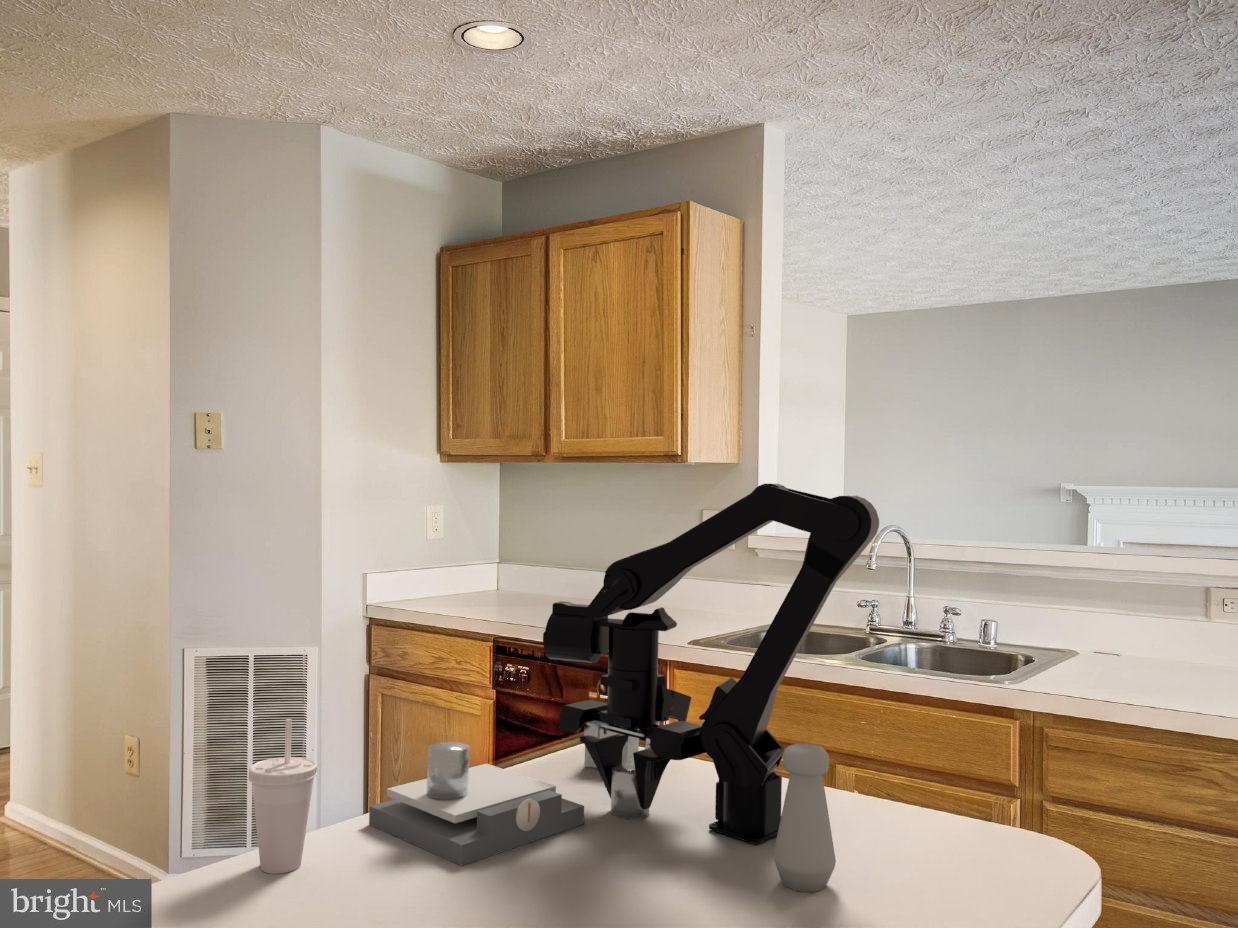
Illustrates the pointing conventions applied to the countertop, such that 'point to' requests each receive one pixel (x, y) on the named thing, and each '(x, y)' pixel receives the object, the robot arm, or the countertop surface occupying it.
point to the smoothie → (282, 807)
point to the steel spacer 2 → (625, 793)
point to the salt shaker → (805, 822)
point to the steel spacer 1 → (448, 770)
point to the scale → (477, 815)
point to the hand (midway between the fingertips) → (630, 803)
